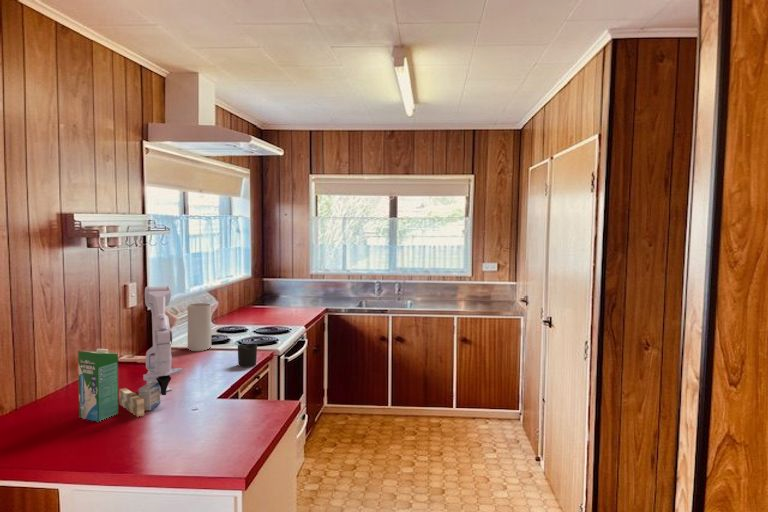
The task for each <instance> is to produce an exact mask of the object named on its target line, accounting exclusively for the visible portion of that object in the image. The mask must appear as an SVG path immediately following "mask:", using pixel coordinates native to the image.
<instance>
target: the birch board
mask: <svg viewBox="0 0 768 512" xmlns="http://www.w3.org/2000/svg"><path fill="white" fill-rule="evenodd" d="M118 403H119V405H120V406H121V407H122V406H123V407H122V408H124V409H125V408H126V409H125V410H127V411H128V412H130V413H131V414H132V413H133V415H134V416H135V415H136V416H135V417H137V418H139V416H140V417H144V416H145V411H144V399H142V398H141V397H139V393H138V394H137V392H133V391H131V390H129V389H128V388H127V387H124V388H118Z"/></svg>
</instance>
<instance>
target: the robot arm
mask: <svg viewBox="0 0 768 512" xmlns="http://www.w3.org/2000/svg"><path fill="white" fill-rule="evenodd" d="M171 297H172V291H171V287H170V285H165V286H161V285H160V286H145V288H144V299H145V300H144V303H145V306H146V307H147V308H149V309H150V312H151V324H152V325H151V327H152V328H151V329H152V332H151V333H152V346H151V347H150V348H149V349H148V350H147V351H146V353H145V369H146V370H147V373H146V374H143V375H142V376H143V377H142V378H143V381H146V384H147V383H150V382H159V387H160V396H167V392H168V391H173V388H172V387H169V384H170V382H171V380H172V377H171V376H174V375H178V374H179V375H181V374H183V368H181V367H177V368H172V364H173V357H172V345H173V337H174V336H173V332H172V329H171V325H170V319H169V318H170V317H169V316H168V315H166V307H167V306H169V304H170V301H171Z"/></svg>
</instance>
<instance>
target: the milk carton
mask: <svg viewBox="0 0 768 512" xmlns="http://www.w3.org/2000/svg"><path fill="white" fill-rule="evenodd" d="M77 353H78V355H77V357H78V358H77V361H78V362H77V363H78V369H77V370H78V418H83V419H88V420H92V421H91V422H93V421H96V422H95V423H99V421H100V422H102V421H101V420H103V421H105V420H107V419H110V418H112V417H115V416H117V415H119V358H118V357H119V354H118V353H116V352H115V353H114V352H109V349H107V348H96V350H94V351H93V350H78V351H77ZM116 414H117V415H116ZM114 415H115V416H114ZM111 416H112V417H111ZM109 417H110V418H109ZM106 418H107V419H106ZM83 419H82V420H83ZM104 419H105V420H104ZM88 420H87V421H88Z"/></svg>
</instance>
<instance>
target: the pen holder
mask: <svg viewBox="0 0 768 512" xmlns="http://www.w3.org/2000/svg"><path fill="white" fill-rule="evenodd" d="M257 355H258V345H257V344H256V343H249V344H238V345H237V358H238V359H237V360H238V361H237V363H238V364H239V365H240V366H252V367H254V366H253V365H255V366H256V365H257V359H258V357H257ZM239 365H238V366H239ZM240 366H239V367H240Z"/></svg>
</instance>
